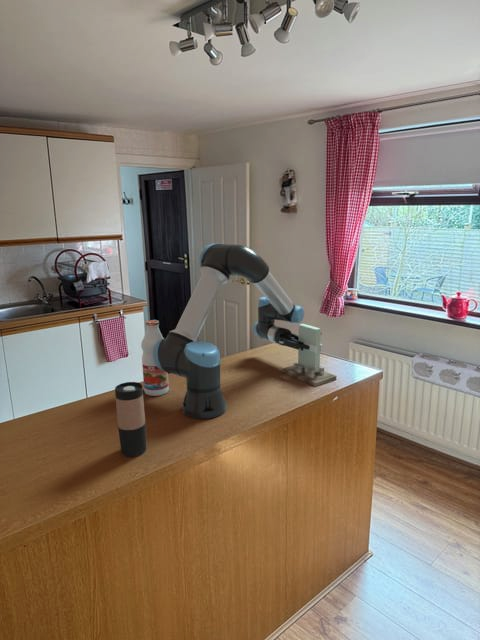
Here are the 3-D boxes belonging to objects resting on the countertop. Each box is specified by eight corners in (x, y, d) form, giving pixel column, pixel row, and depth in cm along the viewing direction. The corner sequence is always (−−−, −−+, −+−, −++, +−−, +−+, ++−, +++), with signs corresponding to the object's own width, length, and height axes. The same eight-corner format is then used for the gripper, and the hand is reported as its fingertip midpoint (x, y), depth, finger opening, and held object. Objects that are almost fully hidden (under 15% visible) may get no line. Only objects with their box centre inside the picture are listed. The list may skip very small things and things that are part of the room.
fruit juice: (172, 387, 172) (168, 318, 165) (163, 397, 163) (159, 325, 156) (150, 385, 174) (145, 317, 167) (140, 395, 165) (134, 324, 158)
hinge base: (281, 372, 186) (281, 362, 185) (301, 366, 193) (302, 356, 192) (315, 386, 171) (315, 375, 169) (336, 379, 177) (336, 369, 176)
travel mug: (115, 450, 127) (109, 387, 122) (138, 441, 132) (133, 379, 127) (129, 461, 122) (123, 394, 117) (152, 450, 127) (147, 386, 122)
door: (296, 365, 185) (297, 324, 181) (302, 363, 187) (303, 322, 183) (315, 372, 176) (316, 329, 172) (321, 370, 179) (322, 328, 174)
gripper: (293, 340, 198) (332, 353, 180) (266, 347, 189) (304, 361, 171) (293, 324, 196) (332, 336, 178) (266, 330, 187) (305, 343, 169)
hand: (318, 348), depth 174 cm, fingers closed on door, 2 cm apart
